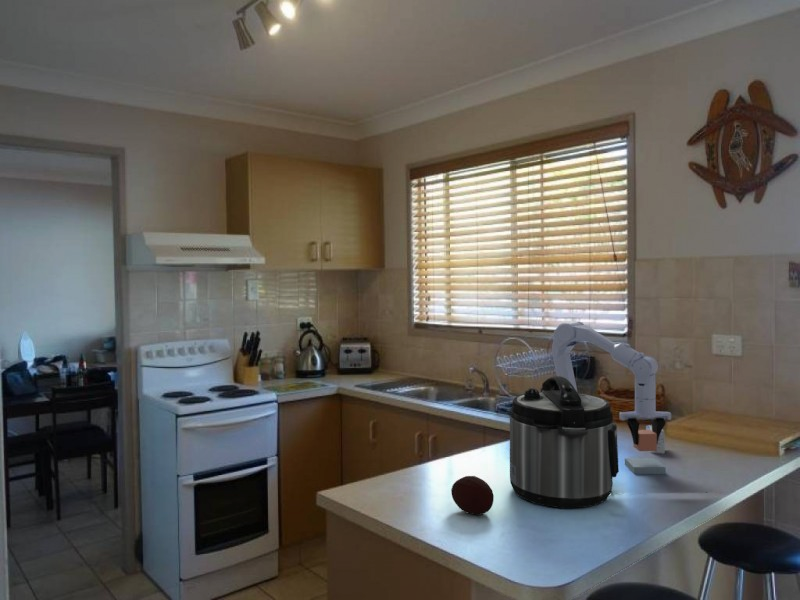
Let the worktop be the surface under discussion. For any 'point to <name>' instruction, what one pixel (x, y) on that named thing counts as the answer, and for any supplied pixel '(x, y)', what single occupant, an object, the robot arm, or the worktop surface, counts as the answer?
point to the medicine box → (660, 441)
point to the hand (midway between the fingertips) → (645, 443)
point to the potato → (472, 495)
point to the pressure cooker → (562, 446)
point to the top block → (645, 466)
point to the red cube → (646, 441)
